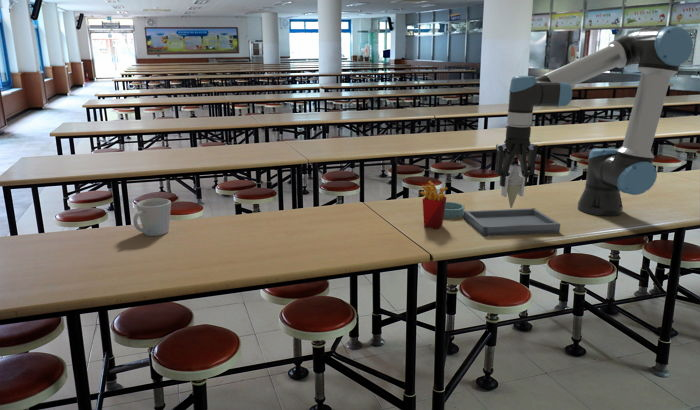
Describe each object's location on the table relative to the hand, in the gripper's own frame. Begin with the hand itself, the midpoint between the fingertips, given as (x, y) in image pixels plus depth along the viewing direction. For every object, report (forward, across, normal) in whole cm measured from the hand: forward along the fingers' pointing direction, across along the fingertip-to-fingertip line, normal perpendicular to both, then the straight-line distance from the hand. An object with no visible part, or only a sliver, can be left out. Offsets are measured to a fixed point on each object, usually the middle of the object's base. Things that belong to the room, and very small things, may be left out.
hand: (512, 195), depth 183 cm
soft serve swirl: (+4, 0, 0) cm, 4 cm away
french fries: (+11, +27, -3) cm, 29 cm away
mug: (+11, +117, -7) cm, 118 cm away
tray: (+11, 0, 0) cm, 11 cm away
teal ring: (+11, +16, -16) cm, 25 cm away
